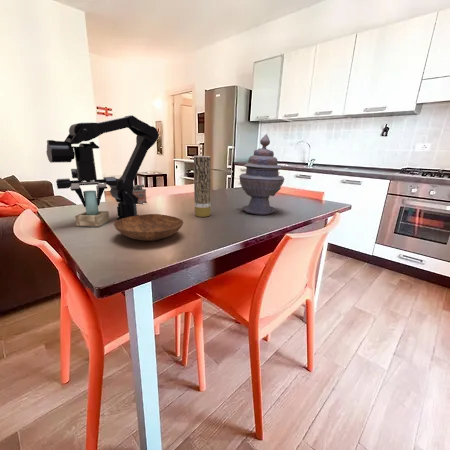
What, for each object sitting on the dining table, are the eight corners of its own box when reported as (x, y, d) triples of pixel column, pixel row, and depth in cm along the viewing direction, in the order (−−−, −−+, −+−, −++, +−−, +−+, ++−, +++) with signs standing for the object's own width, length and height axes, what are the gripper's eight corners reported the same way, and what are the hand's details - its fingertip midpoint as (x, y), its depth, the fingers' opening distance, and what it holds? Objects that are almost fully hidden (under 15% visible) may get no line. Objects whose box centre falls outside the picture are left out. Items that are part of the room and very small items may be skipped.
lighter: (134, 205, 123) (133, 185, 120) (131, 204, 125) (129, 185, 122) (148, 203, 129) (146, 184, 127) (144, 202, 131) (143, 183, 128)
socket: (109, 221, 95) (108, 211, 93) (99, 227, 87) (97, 216, 86) (89, 220, 95) (87, 210, 93) (76, 226, 87) (75, 216, 86)
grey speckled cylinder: (211, 213, 109) (211, 155, 102) (209, 217, 102) (209, 155, 95) (196, 213, 109) (195, 155, 102) (193, 217, 103) (191, 155, 96)
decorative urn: (226, 209, 115) (234, 130, 105) (254, 206, 128) (264, 136, 119) (259, 220, 101) (272, 130, 91) (287, 215, 114) (301, 137, 105)
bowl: (155, 224, 92) (154, 211, 91) (196, 236, 79) (196, 221, 77) (103, 236, 77) (101, 221, 76) (142, 254, 64) (141, 236, 63)
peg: (101, 216, 92) (97, 190, 89) (95, 219, 88) (92, 192, 85) (90, 216, 92) (87, 190, 89) (84, 219, 88) (80, 192, 85)
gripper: (109, 161, 96) (114, 200, 100) (52, 161, 86) (60, 205, 90) (115, 162, 87) (120, 205, 92) (52, 162, 77) (61, 210, 81)
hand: (91, 206), depth 89 cm, fingers closed on peg, 4 cm apart
